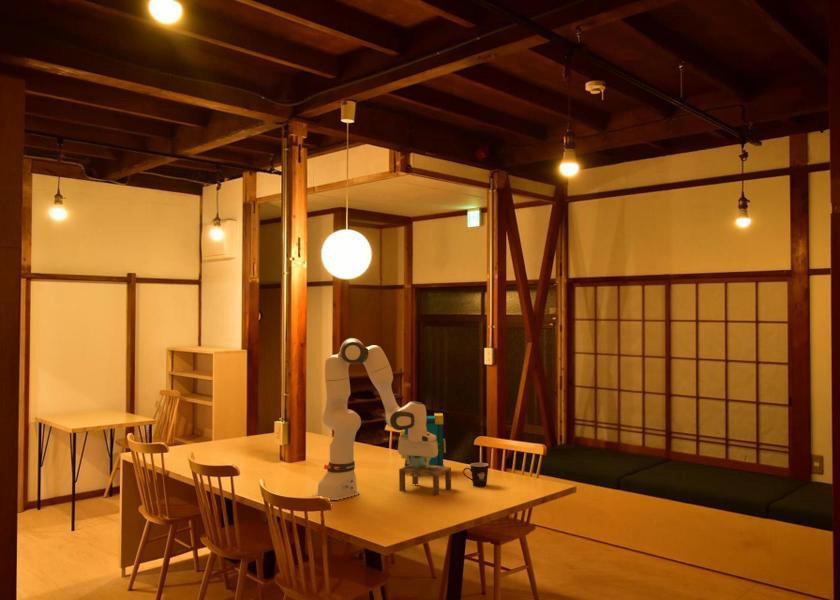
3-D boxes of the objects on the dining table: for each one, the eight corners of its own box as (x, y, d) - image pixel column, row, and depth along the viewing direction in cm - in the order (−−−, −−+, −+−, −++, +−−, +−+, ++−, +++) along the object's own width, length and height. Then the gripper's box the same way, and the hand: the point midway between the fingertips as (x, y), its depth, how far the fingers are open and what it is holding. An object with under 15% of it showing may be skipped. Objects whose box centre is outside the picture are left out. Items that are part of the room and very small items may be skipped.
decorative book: (446, 475, 346) (445, 416, 347) (400, 476, 346) (400, 417, 346) (444, 469, 360) (444, 412, 361) (401, 469, 360) (400, 413, 361)
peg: (418, 477, 316) (418, 458, 317) (411, 476, 318) (410, 457, 319) (424, 474, 322) (424, 455, 322) (417, 474, 324) (417, 455, 324)
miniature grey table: (451, 488, 319) (450, 467, 319) (437, 495, 307) (436, 473, 307) (414, 483, 329) (414, 463, 329) (399, 490, 317) (399, 469, 317)
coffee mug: (490, 483, 327) (489, 463, 327) (487, 488, 319) (486, 466, 319) (466, 482, 330) (466, 462, 331) (462, 486, 322) (462, 465, 322)
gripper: (395, 435, 323) (395, 464, 323) (432, 438, 313) (433, 468, 312) (402, 433, 328) (402, 461, 328) (439, 436, 318) (439, 466, 318)
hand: (417, 465), depth 320 cm, fingers open, 8 cm apart
